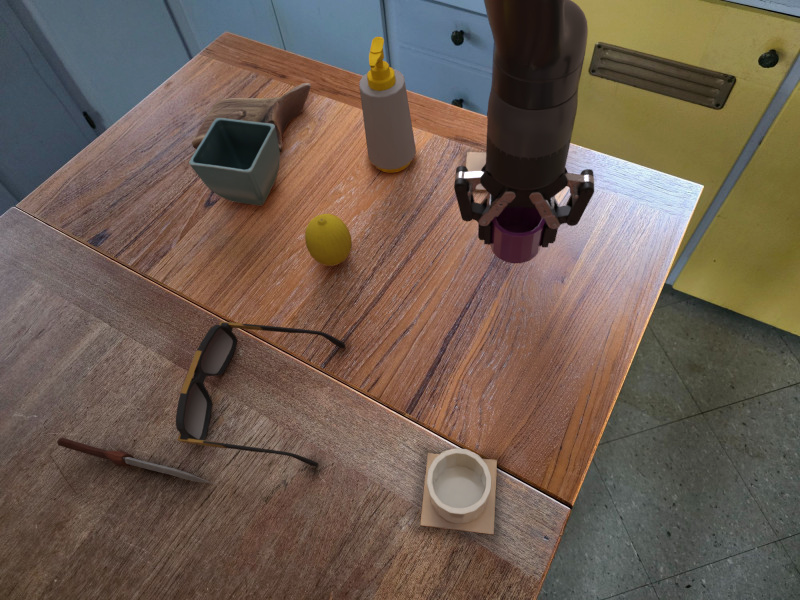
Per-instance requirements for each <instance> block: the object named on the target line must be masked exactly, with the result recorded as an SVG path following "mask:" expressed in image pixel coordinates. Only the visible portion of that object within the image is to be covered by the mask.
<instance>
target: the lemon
mask: <svg viewBox="0 0 800 600" xmlns="http://www.w3.org/2000/svg"><path fill="white" fill-rule="evenodd" d="M304 233H305V234H304V240H305V246H306V249H307V251H308V253H309V255H310V256H311V257H312V258H313V259H314V261H315V262H317V263H318V264H321V265H323V266H326V267H327V266H329V267H331V266H337V265H339V264H342V263H343V262H345V261H346V259H347V258H348V256H349V254H350V253H351V250H352V246H353V245H352V244H353V242H352V235H351V232H350V230H349V227H348V226H347V224H346V223H345V222H344V221H343V220H342V218H341V217H338V216H337V215H335V214H332V213H321V214H318V215H316V216H314V217H313V218H312V219H311V220H310V221H309V222H308V224H307V226H306V228H305V232H304Z"/></svg>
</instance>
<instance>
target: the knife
mask: <svg viewBox="0 0 800 600" xmlns="http://www.w3.org/2000/svg"><path fill="white" fill-rule="evenodd" d="M56 443H57V444H56V445H58V446H59V447H62V448H65V449H69V450H73V451H76V452H79V453H83V454H86V455H90V456H92V457H96V458H100V459H103V460H109V461H110V462H111V463H112V464H114V465H115V466H117V467H124V468H131V467H134V466H135V467H137V468H142V469H146V470H149V471H152V472H153V471H154V472H158V473H162V474H165V475H170V476H173V477H177V478H180V479H183V480H187V481H191V482H196V483H205V484H211V485H212V484H213V485H216V483H215V482H212V481H210V480H208V479H204V478H202V477H199V476H197V475H195V474H193V473H190V472H187V471H184V470H182V469H177V468H174V467H170V466H167V465H166V466H165V465H161V464H158V463H153V462H149V461H145V460H142V459H139V458H135V457H134V456H133V455H132V454H131V453H128V452H127V451H125V450H107V449H103V448H99V447H97V446H96V447H95V446H92V445H88V444H85V443H82V442H78V441H76V440H72V439H69V438H65V437H59V438H58V440H57V441H56Z"/></svg>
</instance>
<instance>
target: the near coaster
mask: <svg viewBox="0 0 800 600" xmlns="http://www.w3.org/2000/svg"><path fill="white" fill-rule="evenodd" d="M440 454H441V453H433V452H428V453H427V458H426V466H425V477H424V483H423V484H424V485H423V494H422V495H423V496H422V504H421V512H420V513H421V514H420V523H419V525H420V526H421V527H428V528H435V529H444V530H451V531H458V532H467V533H476V534H484V535H492V536H494V535H495V518H496V517H495V516H496V515H495V514H496V496H497V495H496V493H497V470H498V469H497V468H498V459H489V458H482V460H483V461H484V462H485V463H486V464H487V466H488V469H489V471H490V474H491V478H492V480H491V492H490V497H489V502H488V504H487V506H486V508H485V510H484V512H483V513H482V514H481V515H480V516H479V517H478V518H477V519H475V520H473V521H471V522H469V523H463V524H457V523H452V522H449V521H447V520H445V519H444V518H442V517H441V516H440V515H439V514H438V513H437V512H436V511H435V509H434V507H433V506H432V503H431V500H430V496H429V492H428V488H427V473H428V469H429V467H430V465H431V464H432V462H433V460H434V459H435V458H436V457H437V456H438V455H440Z"/></svg>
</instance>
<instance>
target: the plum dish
mask: <svg viewBox="0 0 800 600" xmlns="http://www.w3.org/2000/svg"><path fill="white" fill-rule="evenodd" d="M545 224H546V221H545V219H544V218H543V219H542V218H541V216H540V214H539V212H538V210H537V209H531V208H524V207H515V208H505V209H504V210H503V211H502V212H501V213H500V215H499V216H498V217H496V216H495V217H494V219H493V220H492V221H491V237H490V245H489V246H490V249H491V252H492V253H493V255H494V256H495V257H496V258H498V259H499V260H501V261H502V262H505V263H508V264H515V265H516V264H525V263H527V262H530V261H531V260H533V259H534V258H535V257H537V256H538V254H539V252H540V251H541V248H542V247H541V245H542V239H543V234H544V229H545Z"/></svg>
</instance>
